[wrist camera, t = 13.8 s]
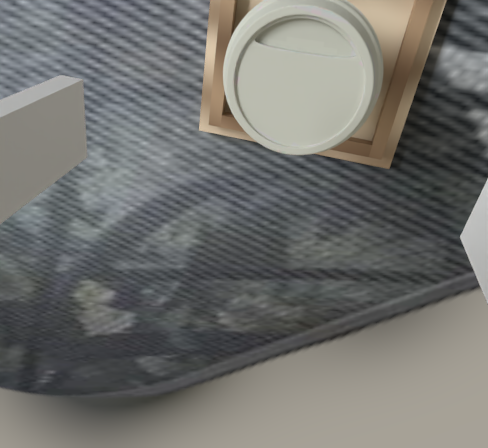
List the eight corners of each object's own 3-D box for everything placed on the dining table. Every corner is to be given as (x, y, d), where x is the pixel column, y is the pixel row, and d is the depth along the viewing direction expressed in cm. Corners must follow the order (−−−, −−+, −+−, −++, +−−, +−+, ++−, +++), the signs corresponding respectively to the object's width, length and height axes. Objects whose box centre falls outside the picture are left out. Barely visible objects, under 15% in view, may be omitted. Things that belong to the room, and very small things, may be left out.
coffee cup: (399, 39, 31) (425, 78, 21) (314, 127, 35) (302, 194, 25) (309, -50, 30) (291, -55, 19) (232, 53, 34) (183, 93, 24)
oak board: (222, -101, 30) (215, -105, 28) (464, -64, 28) (472, -65, 27) (202, 126, 38) (195, 134, 37) (388, 164, 37) (390, 173, 35)
